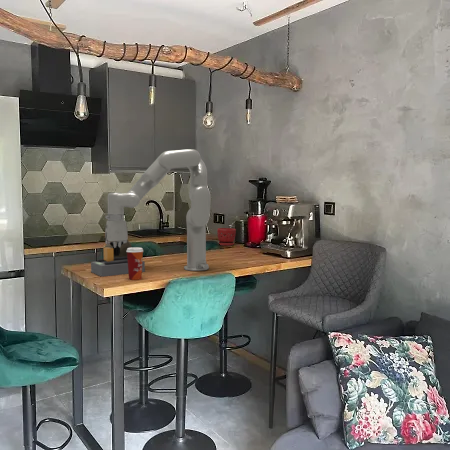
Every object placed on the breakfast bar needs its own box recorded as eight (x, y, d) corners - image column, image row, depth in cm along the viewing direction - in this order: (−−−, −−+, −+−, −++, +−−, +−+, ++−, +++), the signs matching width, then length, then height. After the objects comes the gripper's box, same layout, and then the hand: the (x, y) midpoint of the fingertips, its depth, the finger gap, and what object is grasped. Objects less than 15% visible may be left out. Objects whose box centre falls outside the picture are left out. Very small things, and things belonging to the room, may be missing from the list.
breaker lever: (113, 264, 221) (113, 248, 221) (107, 265, 220) (107, 248, 219) (109, 263, 225) (109, 247, 225) (103, 263, 224) (103, 247, 223)
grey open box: (144, 271, 226) (144, 258, 226) (101, 276, 214) (101, 263, 213) (132, 267, 238) (132, 255, 237) (91, 272, 225) (90, 259, 224)
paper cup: (139, 280, 205) (138, 249, 203) (123, 279, 207) (123, 249, 205) (146, 277, 212) (146, 247, 211) (131, 276, 214) (131, 246, 213)
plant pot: (229, 246, 320) (229, 229, 319) (213, 245, 327) (213, 228, 326) (239, 244, 331) (239, 228, 330) (223, 243, 338) (223, 227, 337)
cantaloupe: (103, 263, 249) (103, 236, 248) (130, 262, 254) (129, 235, 253) (106, 268, 236) (106, 239, 234) (134, 266, 241) (134, 238, 239)
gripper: (103, 219, 216) (104, 257, 217) (133, 217, 224) (133, 255, 226) (98, 218, 222) (98, 255, 223) (127, 217, 230) (127, 253, 232)
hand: (116, 255), depth 225 cm, fingers closed
